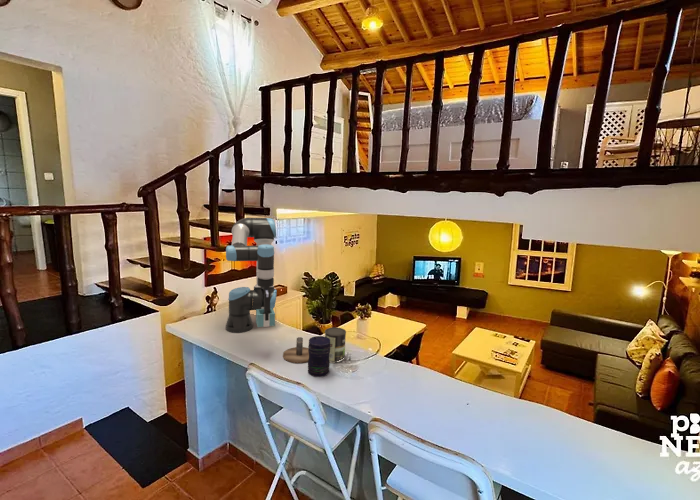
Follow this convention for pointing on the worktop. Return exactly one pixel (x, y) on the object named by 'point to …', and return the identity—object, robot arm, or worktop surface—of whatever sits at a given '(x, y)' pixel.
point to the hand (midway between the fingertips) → (265, 322)
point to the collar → (261, 317)
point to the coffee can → (336, 343)
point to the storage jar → (318, 356)
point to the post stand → (297, 353)
